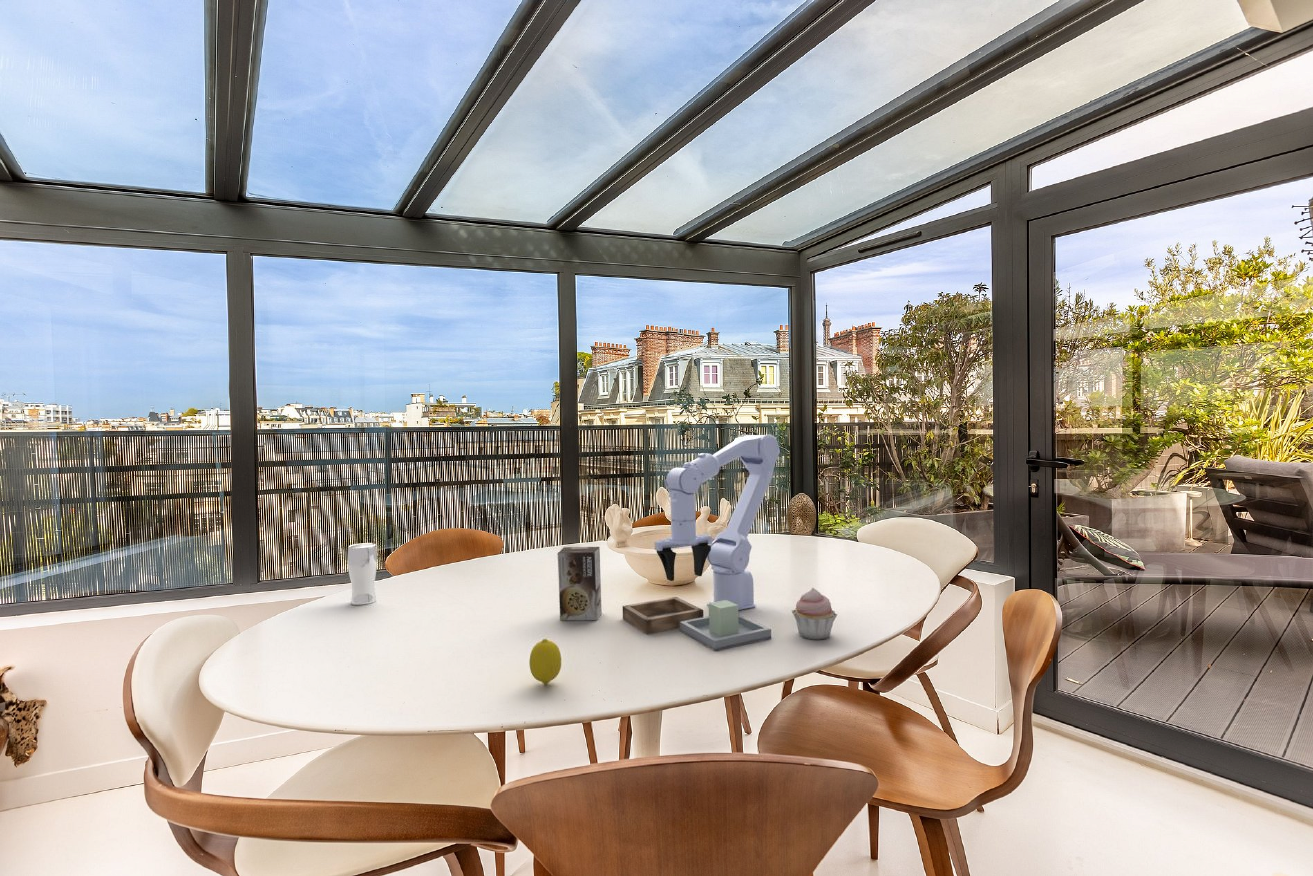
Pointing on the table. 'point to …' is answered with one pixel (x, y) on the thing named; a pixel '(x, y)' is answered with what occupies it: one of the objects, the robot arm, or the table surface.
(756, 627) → the tray
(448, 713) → the table surface
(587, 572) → the coffee box
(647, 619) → the frame
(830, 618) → the cupcake
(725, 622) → the block
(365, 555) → the beer glass
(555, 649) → the lemon
